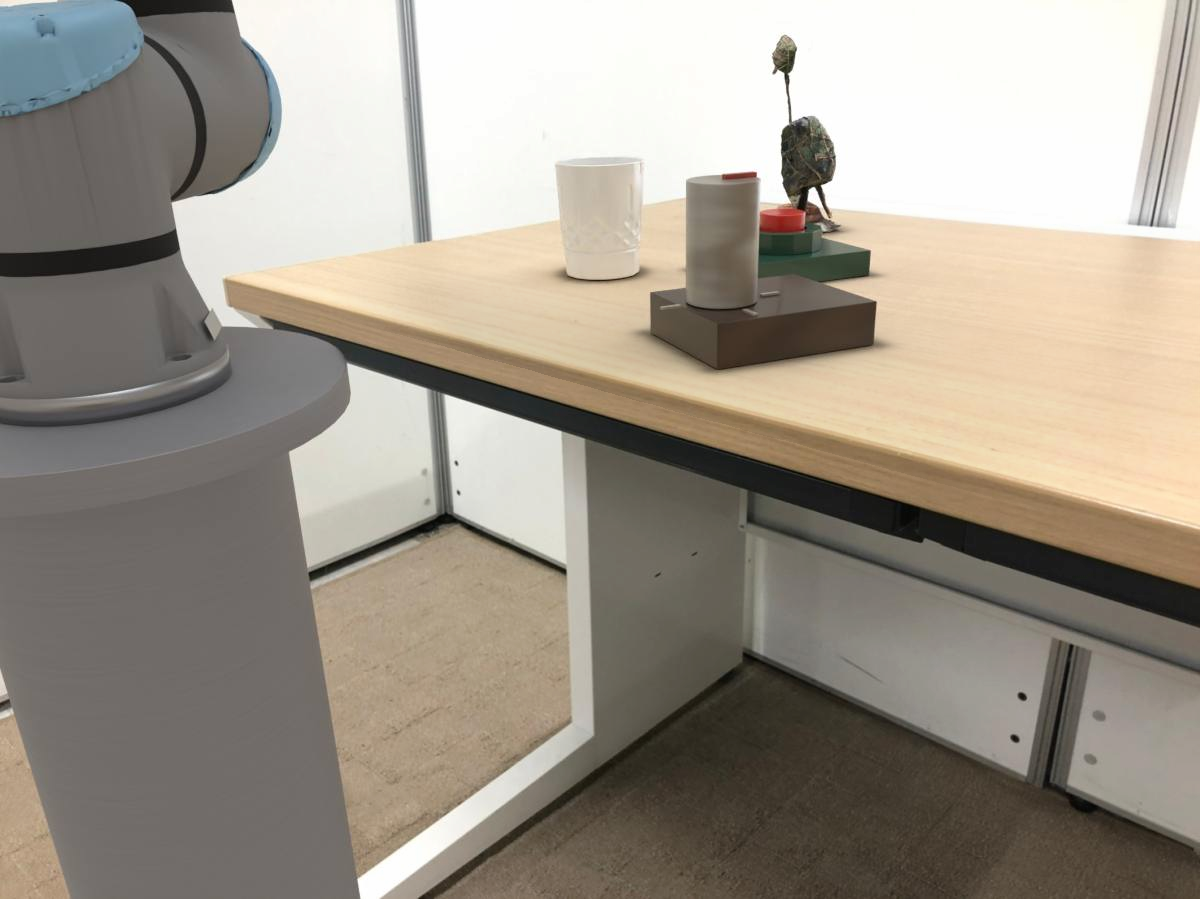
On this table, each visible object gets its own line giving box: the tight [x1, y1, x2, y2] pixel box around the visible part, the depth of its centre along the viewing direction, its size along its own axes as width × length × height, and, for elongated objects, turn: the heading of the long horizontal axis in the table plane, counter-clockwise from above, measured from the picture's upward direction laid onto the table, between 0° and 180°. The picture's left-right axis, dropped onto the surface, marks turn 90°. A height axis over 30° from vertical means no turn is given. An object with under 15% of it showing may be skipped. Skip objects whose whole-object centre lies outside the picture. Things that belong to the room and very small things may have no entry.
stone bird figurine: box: [771, 34, 842, 234], centre depth 105 cm, size 8×11×20 cm
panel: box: [649, 274, 878, 370], centre depth 68 cm, size 14×10×3 cm
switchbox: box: [758, 222, 872, 283], centre depth 88 cm, size 12×10×4 cm
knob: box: [685, 171, 762, 309], centre depth 65 cm, size 5×5×8 cm
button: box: [759, 208, 805, 232], centre depth 87 cm, size 4×4×2 cm
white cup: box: [554, 155, 645, 281], centre depth 89 cm, size 8×8×10 cm
